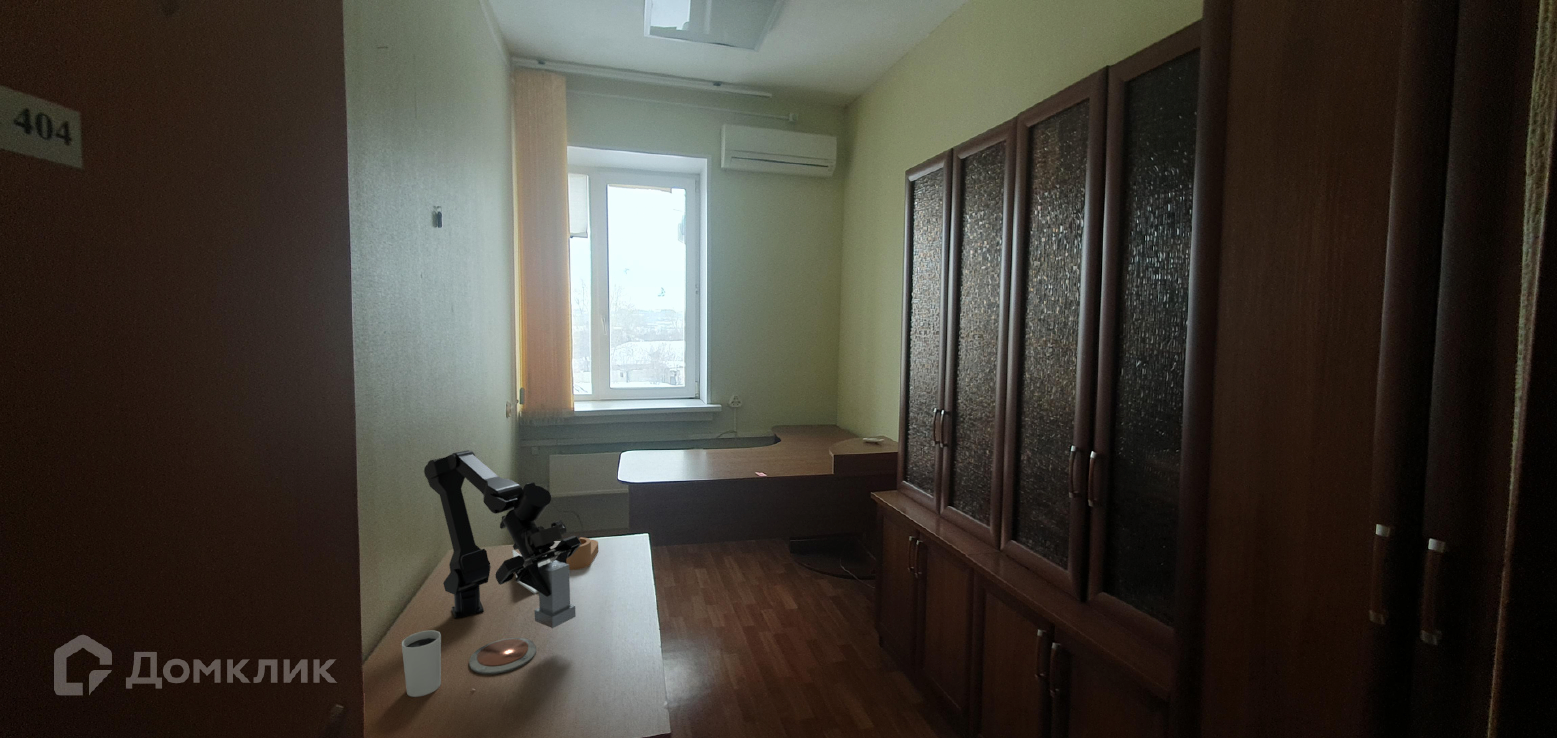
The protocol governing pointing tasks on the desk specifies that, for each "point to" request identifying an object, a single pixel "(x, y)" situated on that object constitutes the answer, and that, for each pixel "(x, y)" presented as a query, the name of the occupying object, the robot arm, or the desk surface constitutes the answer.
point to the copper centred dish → (502, 656)
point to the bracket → (583, 554)
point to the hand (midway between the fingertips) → (558, 591)
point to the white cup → (422, 662)
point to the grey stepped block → (555, 595)
